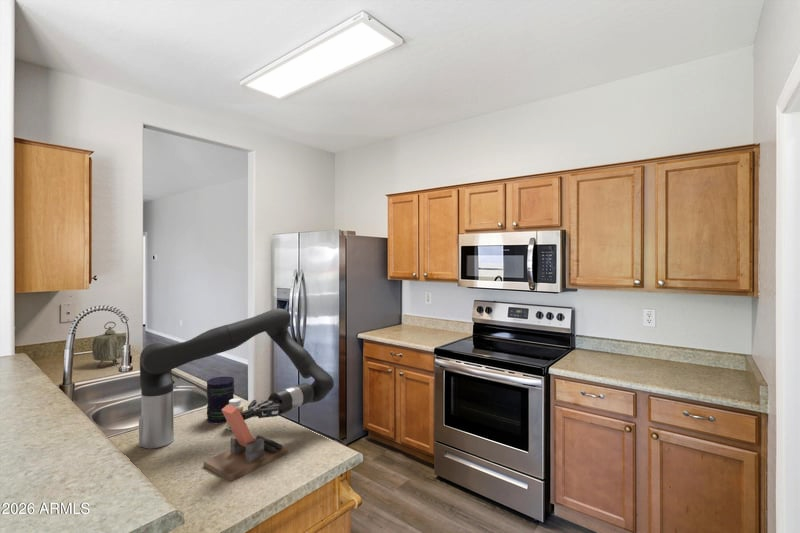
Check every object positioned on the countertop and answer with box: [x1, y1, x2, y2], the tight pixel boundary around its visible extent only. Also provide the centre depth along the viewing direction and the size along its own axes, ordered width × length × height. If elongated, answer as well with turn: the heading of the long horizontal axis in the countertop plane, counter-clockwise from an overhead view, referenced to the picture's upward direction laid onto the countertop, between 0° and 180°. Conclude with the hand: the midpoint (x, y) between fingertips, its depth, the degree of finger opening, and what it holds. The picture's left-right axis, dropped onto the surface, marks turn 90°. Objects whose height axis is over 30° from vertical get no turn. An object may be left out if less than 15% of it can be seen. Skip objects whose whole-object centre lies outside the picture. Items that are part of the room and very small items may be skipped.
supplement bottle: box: [226, 397, 244, 431], centre depth 147 cm, size 6×6×10 cm
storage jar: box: [206, 376, 235, 424], centre depth 155 cm, size 10×10×15 cm
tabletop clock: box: [91, 321, 127, 369], centre depth 228 cm, size 14×9×25 cm, turn 168°
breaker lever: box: [222, 404, 255, 447], centre depth 122 cm, size 2×5×15 cm, turn 55°
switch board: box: [203, 434, 289, 482], centre depth 124 cm, size 20×14×6 cm
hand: (240, 416), depth 122 cm, fingers closed
